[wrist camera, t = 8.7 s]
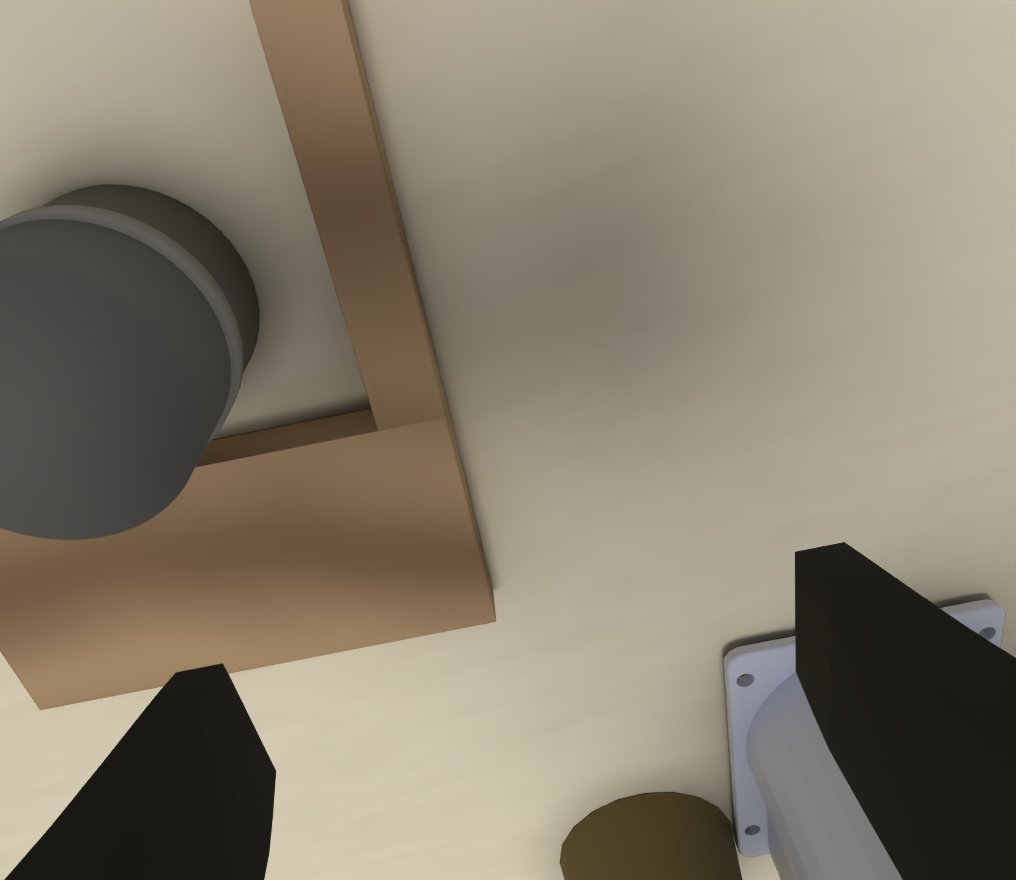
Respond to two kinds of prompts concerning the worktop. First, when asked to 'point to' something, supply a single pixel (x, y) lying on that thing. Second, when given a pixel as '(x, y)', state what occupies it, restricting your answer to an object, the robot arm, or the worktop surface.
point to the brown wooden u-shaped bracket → (282, 462)
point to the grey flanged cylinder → (113, 357)
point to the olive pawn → (652, 841)
